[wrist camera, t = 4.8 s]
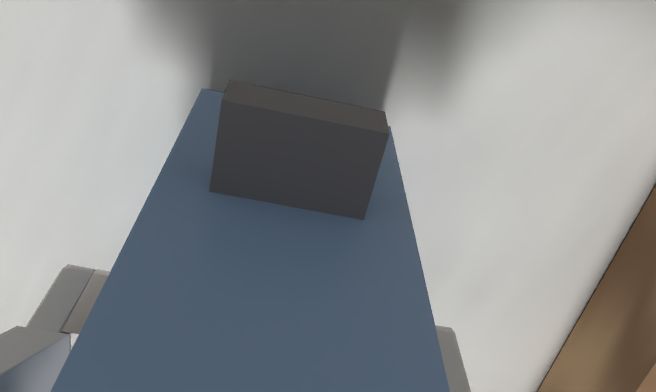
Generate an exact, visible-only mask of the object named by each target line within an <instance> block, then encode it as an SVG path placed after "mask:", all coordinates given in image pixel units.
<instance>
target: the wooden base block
mask: <svg viewBox="0 0 656 392" xmlns="http://www.w3.org/2000/svg"><path fill="white" fill-rule="evenodd" d="M537 392H656V186H655V187H654V189H653V191H652V193H651V194H650V196H649V198H648V200H647V201H646V203H645V205H644V207H643V208H642V210H641V212H640V213H639V215H638V217H637V219H636V220H635V222H634V224H633V226H632V227H631V229H630V231H629V233H628V234H627V236H626V238H625V240H624V241H623V243H622V245H621V247H620V248H619V250H618V252H617V254H616V255H615V257H614V259H613V261H612V262H611V264H610V266H609V268H608V269H607V271H606V273H605V275H604V276H603V278H602V280H601V282H600V283H599V285H598V287H597V289H596V290H595V292H594V294H593V296H592V297H591V299H590V301H589V302H588V304H587V306H586V308H585V309H584V311H583V313H582V315H581V316H580V318H579V320H578V322H577V323H576V325H575V327H574V329H573V330H572V332H571V334H570V336H569V337H568V339H567V341H566V343H565V344H564V346H563V348H562V350H561V351H560V353H559V355H558V357H557V358H556V360H555V362H554V364H553V365H552V367H551V369H550V371H549V372H548V374H547V376H546V378H545V379H544V381H543V383H542V385H541V386H540V388H539V390H538V391H537Z"/></svg>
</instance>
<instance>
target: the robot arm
mask: <svg viewBox="0 0 656 392" xmlns="http://www.w3.org/2000/svg"><path fill="white" fill-rule="evenodd" d="M109 274H110V272H109V271H104V270H98V269H97V270H95V269H90V268H85V267H80V266H74V265H69V264H68V265H67V266H66V267H64V268H63V269H62V270H61V271H60V273H59V275H58V276H57V278H56V279H55V281H54V283H53V284H52V286H51V287H50V289H49V291H48V292H47V294H46V295H45V297H44V299H43V300H42V302H41V303H40V305H39V307H38V308H37V310H36V311H35V313H34V315H33V316H32V318H31V320H30V321H29V323H28V324H27V326H26V327H20V326H16V327H14V328H12V329H10V330H8V331H6V332H4V333H2V334H0V392H50V391H51V389H52V387H53V385H54V383H55V381H56V379H57V377H58V375H59V373H60V371H61V369H62V367H63V365H64V363H65V361H66V359H67V357H68V355H69V353H70V351H71V349H72V347H73V345H74V343H75V341H76V339H77V337H78V335H79V333H80V331H81V329H82V327H83V325H84V323H85V321H86V319H87V317H88V315H89V313H90V311H91V309H92V307H93V305H94V303H95V302H96V300H97V298H98V296H99V294H100V292H101V290H102V288H103V286H104V284H105V282H106V280H107V278H108V276H109ZM435 327H436V332H437V336H438V341H439V345H440V350H441V354H442V359H443V363H444V367H445V372H446V376H447V381H448V385H449V390H450V392H471V390H470V387H469V383H468V379H467V376H466V372H465V368H464V365H463V361H462V357H461V354H460V350H459V346H458V343H457V339H456V335H455V332H454V331H453V329H452V328H449V327H442V326H435Z"/></svg>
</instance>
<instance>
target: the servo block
mask: <svg viewBox="0 0 656 392" xmlns="http://www.w3.org/2000/svg"><path fill="white" fill-rule="evenodd" d="M50 392H450V390H449V385H448V381H447V376H446V372H445V367H444V363H443V359H442V354H441V350H440V345H439V341H438V336H437V332H436V327H435V323H434V319H433V314H432V310H431V305H430V301H429V296H428V292H427V287H426V283H425V279H424V274H423V270H422V265H421V261H420V256H419V252H418V248H417V243H416V239H415V234H414V230H413V225H412V221H411V216H410V212H409V208H408V203H407V199H406V194H405V190H404V185H403V181H402V176H401V172H400V168H399V163H398V159H397V154H396V150H395V145H394V141H393V137H392V132H391V128H390V126H388V124H387V120H386V115H385V112H383V111H378V110H373V109H368V108H363V107H358V106H354V105H349V104H344V103H339V102H334V101H329V100H324V99H320V98H315V97H310V96H305V95H300V94H295V93H290V92H286V91H281V90H276V89H271V88H266V87H261V86H256V85H252V84H247V83H242V82H237V81H232V80H230V81H229V83H228V86H227V88H226V90H225V93H222V92H218V91H213V90H208V89H203V88H202V90H201V92H200V94H199V96H198V98H197V100H196V102H195V104H194V106H193V108H192V110H191V112H190V114H189V116H188V118H187V120H186V122H185V124H184V126H183V128H182V130H181V132H180V134H179V136H178V138H177V140H176V142H175V144H174V146H173V148H172V150H171V152H170V154H169V156H168V158H167V160H166V162H165V164H164V166H163V168H162V170H161V172H160V174H159V176H158V178H157V180H156V182H155V184H154V186H153V188H152V190H151V192H150V194H149V196H148V198H147V200H146V202H145V204H144V206H143V208H142V210H141V212H140V214H139V216H138V218H137V220H136V222H135V224H134V226H133V228H132V230H131V232H130V234H129V236H128V238H127V240H126V242H125V244H124V246H123V248H122V250H121V252H120V254H119V256H118V258H117V260H116V262H115V264H114V266H113V268H112V270H111V272H110V274H109V276H108V278H107V280H106V282H105V284H104V286H103V288H102V290H101V292H100V294H99V296H98V298H97V300H96V302H95V303H94V305H93V307H92V309H91V311H90V313H89V315H88V317H87V319H86V321H85V323H84V325H83V327H82V329H81V331H80V333H79V335H78V337H77V339H76V341H75V343H74V345H73V347H72V349H71V351H70V353H69V355H68V357H67V359H66V361H65V363H64V365H63V367H62V369H61V371H60V373H59V375H58V377H57V379H56V381H55V383H54V385H53V387H52V389H51V391H50Z"/></svg>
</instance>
